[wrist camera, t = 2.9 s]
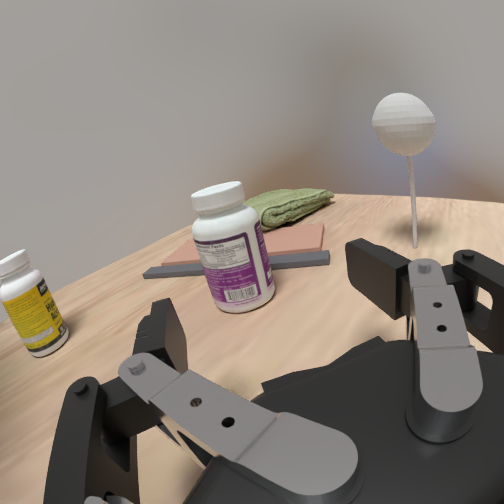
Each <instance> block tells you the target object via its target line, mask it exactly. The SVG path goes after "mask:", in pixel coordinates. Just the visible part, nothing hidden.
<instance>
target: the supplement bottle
mask: <svg viewBox="0 0 504 504" xmlns="http://www.w3.org/2000/svg"><path fill="white" fill-rule="evenodd" d="M29 263H30V261H29V258H28V255H27V253H26V250H25V249H23V250H20V251H18V252H16V253H14V254H12V255H10V256H8V257H6V258H4V259H3V260H1V261H0V280H2V286H1V288H0V298H1V300H2V302H3V305H4V307H5V309H6V311H7V313H8V315H9V317H10V319H11V321H12V323H13V325H14V326H15V328H16V330H17V332H18V334H19V335H20V337H21V339H22V341H23V342H24V344H25V346H26V347H27V349H28V351H29V352H30V353H31V354H32V355H33V356H36V357H42V356H45V355H48V354H50V353H52V352H53V351H55V350H56V349H58V348H59V347H60V346H61V345H62V344H63V343H64V342H65V341H66V339H67V338H68V334H69V332H68V328H67V326H66V324H65V322H64V321H63V319H62V316H61V314H60V313H59V311H58V308H57V306H56V304H55V302H54V300H53V298H52V296H51V294H50V291H49V289H48V287H47V285H46V283H45V280H44V278H43V276H42V274H41V272H40V271H39V270H37V269H31V268H30V266H29Z"/></svg>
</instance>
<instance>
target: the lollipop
mask: <svg viewBox="0 0 504 504" xmlns="http://www.w3.org/2000/svg"><path fill="white" fill-rule="evenodd" d="M435 125H436V121H435V118H434V115H433V114H432V113H431V111H430V110H429V109H428V107H427V106H426V105H425V104H424V103H423V102H422V101H421V100H420V99H418V98H417V97H415V96H413V95H410V94H406V93H394V94H391V95H389V96H387V97H385V98H384V99H382V100H381V101H380V103H379V104H378V106H377V107H376V109H375V112H374V116H373V119H372V127H373V128H374V130H375V132H376V134H377V136H378V138H379V140H380V141H381V142H382V144H383V145H384V146H385V147H386V148H388V149H389V150H391V151H392V152H395V153H397V154H400V155H406V156H407V161H408V169H409V180H410V191H411V205H412V227H413V248H417V217H416V198H415V185H414V174H413V165H412V157H411V155H415V154H418V153H420V152H422V151H423V150H425V149H426V148H427V147H428V146H429V144H430V143H431V141H432V139H433V136H434V130H435Z"/></svg>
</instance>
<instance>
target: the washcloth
mask: <svg viewBox="0 0 504 504" xmlns="http://www.w3.org/2000/svg"><path fill="white" fill-rule="evenodd" d="M333 197H334V194H333V193H331V192H329V191H326V190H320V189H319V190H318V189H309V188H305V189H299V190H288V189H281V190H280V189H279V190H276V191H270V192H266V193H264V194H261V195H258V196H257V197H253V198H251V199H249V200H246V201H243V205H248V206H250V207H252V208H253V209H254V210H255V211H256V212H257V214H258V216H259V219H260V224H261V228H262V231H266V230H271V229H273V228H275V227H278V226H280V225H281V224H285V222H290V221H295V220H296V219H298V218H300V217H302V216H303V215H305V214H308V213H310V212H312V211H314V210H316V209H317V208H319V207H321V206H322V205H323V204H324V203H325V204H326V203H327V202H329V201H330V198H333Z"/></svg>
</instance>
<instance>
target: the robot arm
mask: <svg viewBox="0 0 504 504" xmlns="http://www.w3.org/2000/svg"><path fill="white" fill-rule="evenodd" d="M345 252H346V261H347V271H348V277H349V280H350V283H351V284H352V286H353V287H354V288H356V289H357V290H358V291H359V292H361V293H362V294H363V295H364V296H366V297H367V298H368V299H369V300H371V301H372V302H373V303H374V304H375V305H377V306H378V307H379V308H380V309H381V310H383V311H384V312H385V313H386V314H388V315H389V316H390V317H391V318H392V319H394V320H397V319H399V318H401V317H403V316H405V315H406V340H396V341H390V342H385V341H384V340H383V339H381V338H380V337H379V336H377V337H375V338H373V339H371V340H369V341H367V342H364V343H362V344H360V345H358V346H356V347H353V348H352V349H351V350H349V351H348V352H346V353H345V354H343V355H342V356H341V357H339V358H338V359H336V360H335V361H333V362H332V363H330V364H329V365H326V366H323V367H318V368H313V369H308V370H302V371H297V372H292V373H289V374H286V375H283V376H281V377H278V378H275V379H272V380H269V381H266V382H263V383H261V385H262V388H263V391H264V392H263V393H262V394H260V395H258V396H257V397H255V398H254V399H252V400H251V401H248V400H246V399H244V398H242V397H240V396H238V395H236V394H234V393H232V392H230V391H228V390H227V389H225V388H223V387H221V386H219V385H217V384H215V383H213V382H212V381H210V380H208V379H206V378H204V377H202V376H201V375H199V374H197V373H195V372H194V371H192V370H189V369H188V362H187V345H186V337H185V334H184V331H183V328H182V325H181V323H180V321H179V318H178V316H177V314H176V311H175V309H174V306H173V304H172V301H171V300H170V298H166V299H162V300H159V301H156V302H153V303H152V308H151V313H150V315H148V316H144V318H143V319H142V320H141V322H140V323H139V325H138V329H137V334H136V339H135V344H134V348H133V354H132V356H130V357H129V358H127V359H126V360H125V361H124V362H123V363H122V364H121V365H120V367H119V369H118V375H119V377H117V378H115V379H113V380H111V381H109V382H106V383H104V384H102V385H100V384H99V382H98V381H97V380H96V379H95V378H94V377H83V378H81V379H78V380H77V381H75V382H74V383H73V384H72V385H71V386H70V387H69V388H68V390H67V392H66V395H65V398H64V402H63V405H62V409H61V413H60V416H59V420H58V424H57V428H56V433H55V437H54V441H53V446H52V451H51V456H50V461H49V467H48V472H47V479H46V485H45V493H44V501H43V504H140V497H139V484H138V466H137V434H139V433H141V432H143V431H145V430H148V429H150V428H152V427H154V426H155V427H156V428H157V429H158V430H159V431H160V432H162V433H163V434H164V435H165V436H166V437H167V438H168V439H170V440H171V441H172V442H173V443H174V444H175V445H177V446H178V447H179V448H180V449H181V450H183V451H184V452H185V453H186V454H187V455H188V456H190V457H191V458H192V459H193V460H194V461H195V462H196V463H197V464H198V465H199V466H200V467H201V468H203V469H204V471H203V473H202V475H201V476H200V478H199V479H198V481H197V482H196V484H195V486H194V487H193V489H192V490H191V492H190V493H189V495H188V496H187V498H186V499H185V501H184V502H183V504H504V265H502V264H500V263H498V262H496V261H494V260H492V259H490V258H488V257H486V256H484V255H482V254H480V253H478V252H476V251H473V250H459V251H457V252H455V253H454V255H453V264H450V265H446V266H442V267H441V265H440V264H439V263H438V262H437V261H435V260H432V259H416V260H414V261H411V260H409V259H407V258H405V257H403V256H401V255H399V254H397V253H395V252H393V251H391V250H390V249H388V248H386V247H384V246H379V245H375V244H373V243H371V242H369V241H367V240H365V239H363V238H359V239H356V240H353V241H350V242H347V243H346V245H345ZM479 287H481V288H483V289H484V290H486V291H487V292H489V293H490V295H491V296H492V299H493V304H492V309H491V310H490V309H488V308H487V307H485V306H484V305H482V304H481V303H479V302H478V301H477V296H478V290H479ZM467 331H468V332H469V333H471V334H472V335H473V336H474V337H475V338H477V339H478V340H479V341H480V342H482V343H483V344H484V345H485V346H486V347H488V348H489V349H490V350H491V351H492V352H493V353H491V352H484V351H476V349H475V347H474V346H471V345H470V342H469V338H468V334H467Z"/></svg>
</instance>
